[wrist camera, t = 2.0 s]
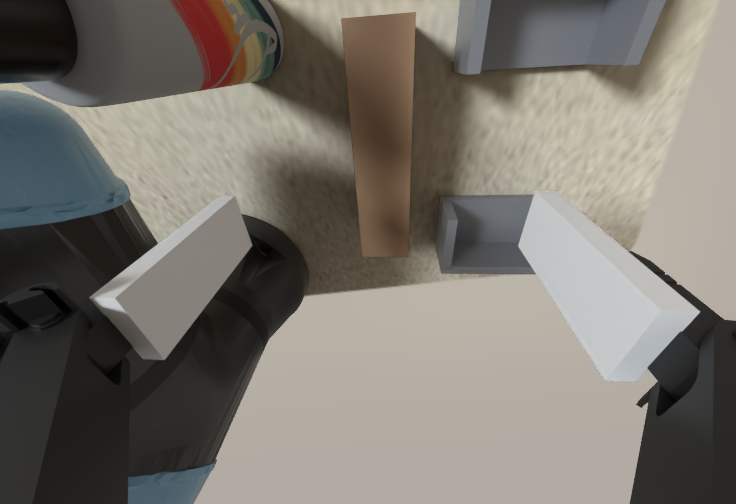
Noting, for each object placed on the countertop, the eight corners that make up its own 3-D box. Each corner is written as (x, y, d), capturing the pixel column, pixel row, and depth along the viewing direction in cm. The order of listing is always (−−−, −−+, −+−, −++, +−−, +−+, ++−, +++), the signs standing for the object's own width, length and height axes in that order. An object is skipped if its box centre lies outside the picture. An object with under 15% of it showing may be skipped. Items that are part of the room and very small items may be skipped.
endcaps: (435, 244, 30) (441, 273, 26) (463, -35, 17) (483, -61, 13) (529, 244, 29) (550, 274, 25) (628, -50, 16) (701, -84, 13)
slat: (367, 223, 29) (362, 256, 24) (354, 28, 20) (341, 18, 15) (406, 222, 29) (408, 256, 24) (410, 23, 19) (415, 12, 15)
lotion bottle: (291, 80, 22) (-15, 146, 6) (223, 81, 22) (-250, 144, 6) (277, -19, 19) (-586, -584, 2) (197, -16, 19) (-1022, -472, 3)
